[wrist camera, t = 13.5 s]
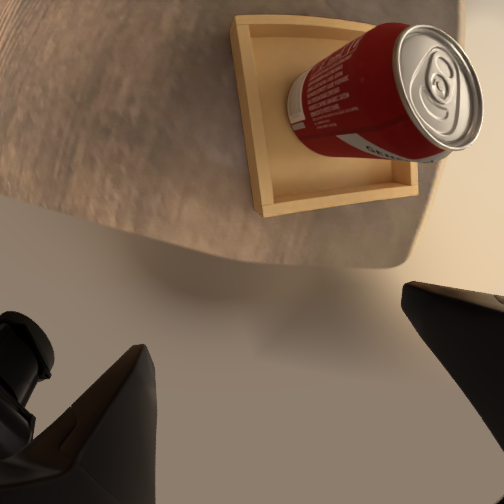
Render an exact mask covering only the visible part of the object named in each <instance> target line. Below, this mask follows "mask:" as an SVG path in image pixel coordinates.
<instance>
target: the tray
mask: <svg viewBox="0 0 504 504" xmlns="http://www.w3.org/2000/svg"><path fill="white" fill-rule="evenodd" d="M374 27H376V26H374V25H369V24H364V23H358V22H352V21H346V20H338V19H331V18H321V17H311V16H296V15H235V16H234V19H233V22H232V25H231V28H230V31H229V34H230V41H231V48H232V54H233V61H234V68H235V75H236V82H237V89H238V96H239V103H240V110H241V117H242V124H243V131H244V138H245V145H246V152H247V159H248V167H249V174H250V181H251V189H252V196H253V203H254V210H255V211H256V212H258V213H259V214H260V215H261V216H262V217H263V218H266V217H272V216H278V215H284V214H290V213H296V212H302V211H308V210H315V209H321V208H328V207H334V206H341V205H348V204H355V203H362V202H369V201H376V200H383V199H391V198H398V197H406V196H414V195H418V170H417V162H409V161H397V160H384V159H368V158H347V157H327V156H323V155H319V154H317V153H315V152H313V151H311V150H309V149H308V148H307V147H305V146H304V145H303V144H302V143H301V142H300V141H299V140H298V139H297V137H296V136H295V135H294V133H293V131H292V130H291V128H290V125H289V123H288V120H287V115H286V98H287V94H288V91H289V89H290V87H291V85H292V84H293V82H294V81H295V80H296V79H297V78H298V77H299V76H300V75H301V74H303V73H304V72H306V71H307V70H308V69H310V68H311V67H313V66H314V65H316V64H317V63H319V62H320V61H322V60H323V59H324V58H326V57H327V56H329V55H331V54H332V53H334V52H335V51H337V50H338V49H340V48H341V47H343V46H344V45H346V44H348V43H349V42H351V41H352V40H354V39H356V38H357V37H359V36H361V35H362V34H364V33H366V32H367V31H369V30H371V29H373V28H374Z"/></svg>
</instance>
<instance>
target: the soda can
mask: <svg viewBox="0 0 504 504" xmlns="http://www.w3.org/2000/svg"><path fill="white" fill-rule="evenodd" d="M286 115H287V120H288V123H289V125H290V128H291V130H292V131H293V133H294V135H295V136H296V137H297V139H298V140H299V141H300V142H301V143H302V144H303V145H304V146H305V147H307V148H308V149H309V150H311V151H313V152H315V153H317V154H319V155H323V156H327V157H347V158H368V159H384V160H397V161H409V162H419V163H431V162H436V161H439V160H441V159H443V158H445V157H446V156H448V155H449V154H450V153H451V152H452V151H460V150H464V149H466V148H467V147H469V146H470V145H471V144H472V143H473V142H474V141H475V140H476V138H477V136H478V134H479V132H480V129H481V125H482V120H483V97H482V91H481V87H480V83H479V80H478V77H477V74H476V72H475V69H474V68H473V65H472V63H471V61H470V60H469V58H468V56H467V55H466V53H465V52H464V50H463V49H462V48H461V47H460V45H459V44H458V43H457V42H456V41H455V40H454V39H453V38H452V37H451V36H449V35H448V34H447V33H445V32H444V31H442V30H441V29H439V28H437V27H435V26H432V25H429V24H414V25H412V26H410V25H406V24H402V23H385V24H381V25H378V26H376V27H374V28H373V29H371V30H369V31H367V32H366V33H364V34H362V35H361V36H359V37H357V38H356V39H354V40H352V41H351V42H349V43H348V44H346V45H344V46H343V47H341V48H340V49H338V50H337V51H335V52H334V53H332V54H331V55H329V56H327V57H326V58H324V59H323V60H322V61H320V62H319V63H317V64H316V65H314V66H313V67H311V68H310V69H308V70H307V71H306V72H304V73H303V74H301V75H300V76H299V77H298V78H297V79H296V80H295V81H294V82H293V84H292V85H291V87H290V89H289V91H288V94H287V98H286Z"/></svg>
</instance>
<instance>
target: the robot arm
mask: <svg viewBox="0 0 504 504" xmlns="http://www.w3.org/2000/svg"><path fill="white" fill-rule="evenodd" d="M401 307H402V310H403V311H404V313H405V314H406V316H407V317H408V319H409V320H410V322H411V323H412V325H413V326H414V328H415V329H416V331H417V332H418V334H419V335H420V337H421V338H422V339H423V341H424V342H425V343H426V344H427V346H428V347H429V348H430V349H431V351H432V352H433V353H434V355H435V356H436V357H437V358H438V360H439V361H440V362H441V364H442V365H443V366H444V367H445V369H446V370H447V371H448V373H449V374H450V375H451V377H452V378H453V379H454V380H455V382H456V383H457V384H458V386H459V387H460V388H461V390H462V391H463V392H464V394H465V395H466V397H467V398H468V399H469V401H470V402H471V404H472V405H473V406H474V408H475V409H476V411H477V412H478V414H479V415H480V416H481V417H482V419H483V421H484V422H485V424H486V425H487V427H488V428H489V430H490V431H491V433H492V434H493V436H494V438H495V439H496V441H497V442H498V444H499V445H500V447H501V448H502V450H503V451H504V296H499V295H492V294H487V293H481V292H475V291H469V290H464V289H458V288H452V287H446V286H440V285H434V284H428V283H422V282H416V281H411V282H409V283H405V284H404V286H403V289H402V299H401ZM22 328H23V329H24V330H23V329H22ZM51 376H52V374H51V372H50V370H49V369H48V367H47V365H46V363H45V361H44V360H43V358H42V356H41V354H40V352H39V350H38V348H37V346H36V344H35V342H34V340H33V338H32V336H31V334H30V332H29V330H28V328H27V326H26V325H25V324H23V323H21V324H13V325H9V324H0V504H155V454H156V453H155V452H156V451H155V450H156V425H157V399H156V383H155V382H156V381H155V367H154V364H153V361H152V359H151V356H150V354H149V351H148V349H147V347H146V345H144V344H139V345H133V346H132V347H131V348H130V349H129V350H127V351H126V352H125V353H124V354H123V355H122V356H121V357H120V358H119V360H117V361H116V362H115V363H114V364H113V365H112V366H111V367H110V368H109V369H108V370H107V371H106V372H105V373H104V374H103V375H102V376H101V377H100V378H99V379H98V380H97V381H96V382H95V383H94V384H92V385H91V386H90V387H89V388H88V389H87V390H86V391H85V392H84V393H83V394H82V395H81V396H80V397H79V398H78V399H77V400H76V401H75V402H74V403H73V404H72V405H71V407H69V408H68V409H67V410H66V411H65V412H64V413H63V414H62V415H61V416H60V417H59V418H58V419H57V420H56V421H54V422H53V423H52V424H51V425H50V426H49V427H48V428H46V429H45V430H44V431H43V432H42V433H41V434H40V435H38V436H37V437H36V438H35V439H33V433H34V427H35V420H36V417H35V416H34V415H33V414H30V413H29V412H28V411H27V410H26V409H25V406H26V404H27V402H28V400H29V398H30V396H31V394H32V392H33V390H34V388H35V386H36V384H37V382H38V380H39V379H50V378H51ZM495 504H504V495H503V496H502V497H501V498H500V499H499V500H498V501H497V502H496V503H495Z"/></svg>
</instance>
